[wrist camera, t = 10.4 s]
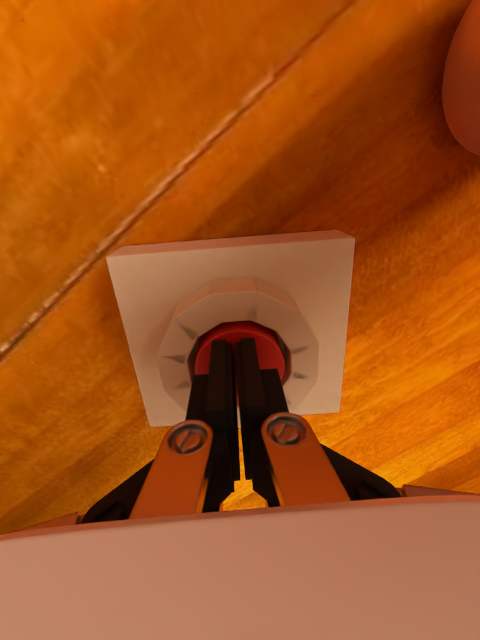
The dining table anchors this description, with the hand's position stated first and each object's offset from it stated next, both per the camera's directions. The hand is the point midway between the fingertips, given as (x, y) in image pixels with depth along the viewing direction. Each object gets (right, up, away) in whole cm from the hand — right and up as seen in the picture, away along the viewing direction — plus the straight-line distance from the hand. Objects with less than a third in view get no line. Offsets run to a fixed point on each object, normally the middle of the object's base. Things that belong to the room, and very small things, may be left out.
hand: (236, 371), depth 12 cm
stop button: (0, +1, +2) cm, 2 cm away
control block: (0, +2, +4) cm, 4 cm away
